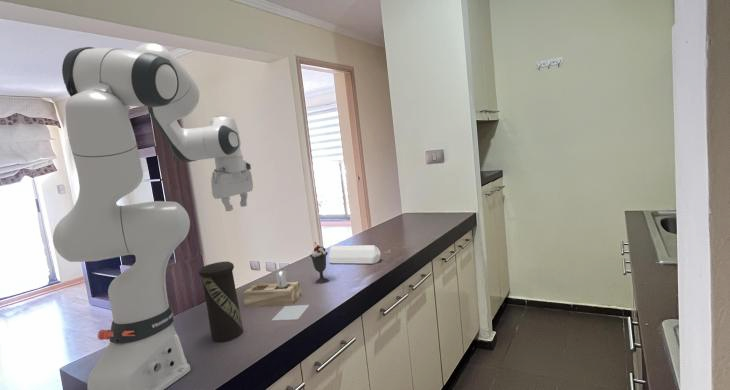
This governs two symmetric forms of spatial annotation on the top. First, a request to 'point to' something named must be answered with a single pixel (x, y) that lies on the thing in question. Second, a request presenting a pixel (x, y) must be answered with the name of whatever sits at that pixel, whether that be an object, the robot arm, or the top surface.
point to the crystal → (354, 254)
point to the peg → (281, 279)
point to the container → (221, 301)
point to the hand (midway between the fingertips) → (236, 208)
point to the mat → (290, 312)
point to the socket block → (271, 294)
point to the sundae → (319, 262)
